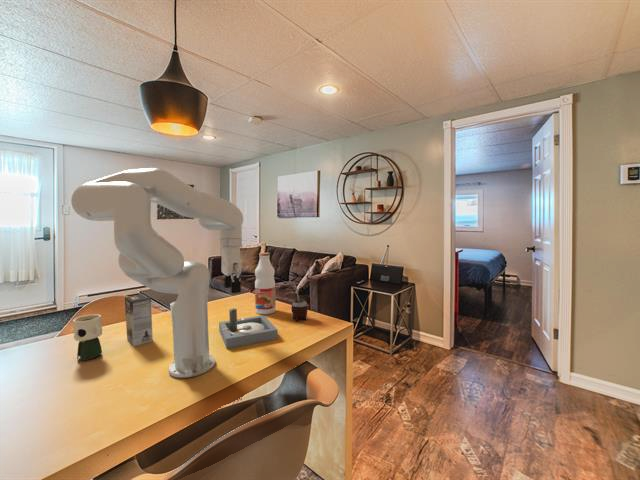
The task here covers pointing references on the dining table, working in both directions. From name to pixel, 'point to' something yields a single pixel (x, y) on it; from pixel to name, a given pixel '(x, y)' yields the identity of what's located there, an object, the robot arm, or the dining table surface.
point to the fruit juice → (265, 286)
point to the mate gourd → (299, 308)
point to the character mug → (88, 335)
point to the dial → (242, 325)
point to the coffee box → (138, 319)
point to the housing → (250, 337)
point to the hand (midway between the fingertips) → (232, 289)
